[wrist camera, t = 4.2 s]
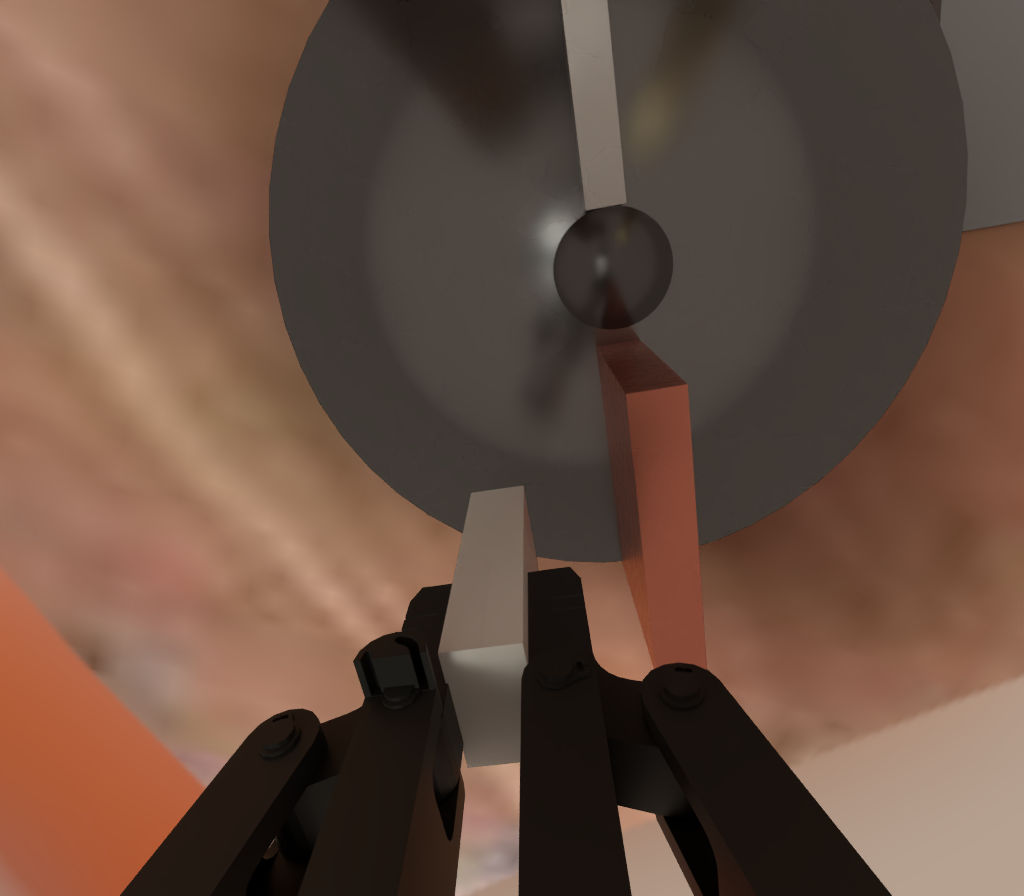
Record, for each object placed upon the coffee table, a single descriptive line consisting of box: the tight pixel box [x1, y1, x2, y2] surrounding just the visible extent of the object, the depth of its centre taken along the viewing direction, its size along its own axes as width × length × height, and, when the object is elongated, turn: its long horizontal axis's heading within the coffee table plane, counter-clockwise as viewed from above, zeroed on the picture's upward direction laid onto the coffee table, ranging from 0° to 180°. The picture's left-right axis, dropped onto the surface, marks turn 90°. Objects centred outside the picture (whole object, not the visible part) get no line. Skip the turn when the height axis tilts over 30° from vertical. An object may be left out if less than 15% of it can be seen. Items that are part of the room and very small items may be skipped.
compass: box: [269, 0, 968, 669], centre depth 14 cm, size 18×18×7 cm
